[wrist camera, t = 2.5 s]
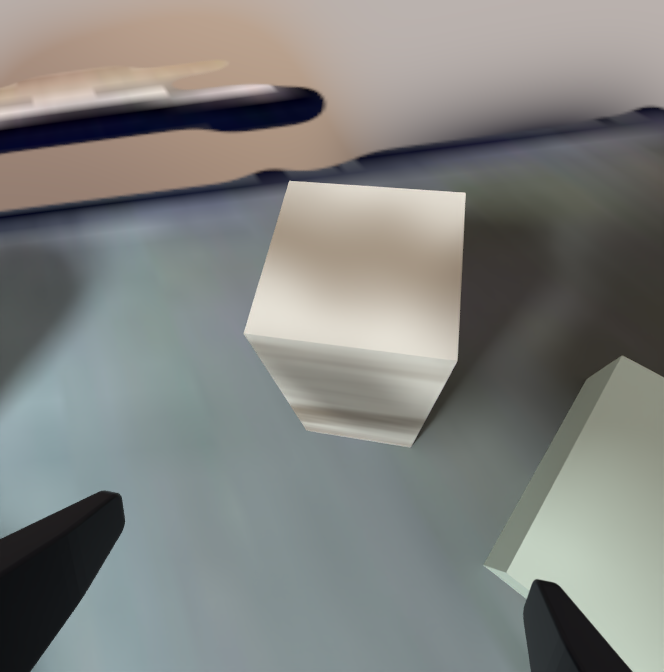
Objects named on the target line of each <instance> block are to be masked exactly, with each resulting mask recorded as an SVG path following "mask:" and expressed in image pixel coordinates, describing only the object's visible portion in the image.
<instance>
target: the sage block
mask: <svg viewBox="0 0 664 672" xmlns="http://www.w3.org/2000/svg"><path fill="white" fill-rule="evenodd" d="M484 566H485V567H486V568H488V569H489V570H490V571H492V572H493V573H494V574H495V575H497V576H498V577H499V578H500V579H502V580H503V581H504V582H506V583H507V584H508V585H509V586H511V587H512V588H513V589H514V590H516V591H517V592H518V593H520V594H521V595H522V596H523V597H525V598H526V599H527V597H528V594H529V591H530V588H531V585H532V583H533V581H534V580H535V579H540V580H545V581H550V582H554V583H556V584H558V585H559V586H560V587H561V588H562V589H563V590H564V591H565V592H566V594H567V595H568V596H569V597H570V598H571V600H572V601H573V602H574V603H575V604H576V605H577V607H578V608H579V609H580V610H581V611H582V613H583V614H584V615H585V616H586V617H587V618H588V620H589V621H590V622H591V623H592V624H593V625H594V627H595V628H596V629H597V630H598V631H599V633H600V634H601V635H602V636H603V637H604V638H605V640H606V641H607V642H608V643H609V644H610V646H611V647H612V648H613V649H614V650H615V651H616V653H617V654H618V655H619V656H620V657H621V659H622V660H623V661H624V662H625V663H626V664H627V666H628V667H629V668H630V669H631V670H632V671H633V672H664V377H662V376H660V375H658V374H656V373H655V372H653V371H651V370H649V369H647V368H645V367H643V366H641V365H639V364H638V363H636V362H634V361H632V360H630V359H628V358H626V357H624V356H623V355H622V356H620V357H619V358H617V359H616V360H614V361H613V362H611V363H610V364H608V365H607V366H605V367H604V368H602V369H601V370H599V371H598V372H596V373H595V374H593V375H592V376H590V377H589V378H588V379H586V381H585V383H584V385H583V387H582V388H581V390H580V392H579V394H578V396H577V397H576V399H575V401H574V403H573V405H572V406H571V408H570V410H569V412H568V414H567V415H566V417H565V419H564V421H563V423H562V424H561V426H560V428H559V430H558V432H557V433H556V435H555V437H554V439H553V441H552V442H551V444H550V446H549V448H548V450H547V451H546V453H545V455H544V457H543V459H542V460H541V462H540V464H539V466H538V468H537V469H536V471H535V473H534V475H533V477H532V478H531V480H530V482H529V484H528V486H527V487H526V489H525V491H524V493H523V495H522V496H521V498H520V500H519V502H518V504H517V505H516V507H515V509H514V511H513V513H512V514H511V516H510V518H509V520H508V522H507V523H506V525H505V527H504V529H503V531H502V532H501V534H500V536H499V538H498V540H497V541H496V543H495V545H494V547H493V549H492V550H491V552H490V554H489V556H488V558H487V559H486V561H485V563H484Z"/></svg>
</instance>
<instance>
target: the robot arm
mask: <svg viewBox="0 0 664 672" xmlns="http://www.w3.org/2000/svg"><path fill="white" fill-rule="evenodd" d="M124 525H125V516H124V509H123V502H122V497H121V495H120V494H119V493H115V492H110V491H100V492H98V493H95V494H93V495H91V496H89V497H87V498H85V499H83V500H81V501H79V502H77V503H75V504H73V505H70V506H68V507H66V508H64V509H62V510H60V511H58V512H56V513H54V514H52V515H50V516H48V517H45V518H43V519H41V520H39V521H37V522H35V523H33V524H31V525H29V526H27V527H25V528H23V529H21V530H18V531H16V532H14V533H12V534H10V535H8V536H6V537H4V538H2V539H0V672H30V671H31V670H32V669H33V667H34V666H35V664H36V663H37V662H38V660H39V659H40V657H41V656H42V655H43V653H44V652H45V650H46V649H47V648H48V646H49V645H50V643H51V642H52V641H53V639H54V638H55V636H56V635H57V634H58V632H59V631H60V629H61V628H62V627H63V625H64V624H65V622H66V621H67V619H68V618H69V617H70V615H71V614H72V612H73V611H74V610H75V608H76V607H77V605H78V604H79V602H80V601H81V599H82V598H83V596H84V595H85V593H86V591H87V590H88V588H89V587H90V585H91V583H92V582H93V580H94V578H95V577H96V575H97V573H98V571H99V570H100V568H101V566H102V565H103V563H104V561H105V560H106V558H107V556H108V555H109V553H110V551H111V550H112V548H113V546H114V545H115V543H116V541H117V540H118V538H119V536H120V534H121V533H122V531H123V528H124ZM523 619H524V627H525V633H526V640H527V647H528V654H529V661H530V668H531V672H633V671H632V670H631V669H630V668H629V667H628V666H627V664H626V663H625V662H624V661H623V660H622V659H621V657H620V656H619V655H618V654H617V653H616V651H615V650H614V649H613V648H612V647H611V646H610V644H609V643H608V642H607V641H606V640H605V638H604V637H603V636H602V635H601V634H600V633H599V631H598V630H597V629H596V628H595V627H594V625H593V624H592V623H591V622H590V621H589V620H588V618H587V617H586V616H585V615H584V614H583V613H582V611H581V610H580V609H579V608H578V607H577V605H576V604H575V603H574V602H573V601H572V600H571V598H570V597H569V596H568V595H567V594H566V592H565V591H564V590H563V589H562V588H561V587H560V586H559V585H558V584H556V583H554V582H550V581H545V580H540V579H535V580H534V581H533V583H532V585H531V588H530V591H529V594H528V597H527V600H526V603H525V606H524V611H523Z"/></svg>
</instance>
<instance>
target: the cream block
mask: <svg viewBox="0 0 664 672" xmlns="http://www.w3.org/2000/svg"><path fill="white" fill-rule="evenodd" d="M465 196H466V193H461V192H446V191H431V190H416V189H401V188H386V187H371V186H356V185H341V184H327V183H312V182H297V181H289V184H288V187H287V190H286V194H285V197H284V200H283V204H282V207H281V210H280V214H279V217H278V221H277V224H276V227H275V231H274V234H273V237H272V241H271V244H270V247H269V251H268V254H267V257H266V261H265V264H264V267H263V271H262V274H261V277H260V281H259V284H258V287H257V291H256V294H255V297H254V301H253V304H252V307H251V311H250V314H249V317H248V321H247V324H246V328H245V331H244V335H245V336H246V338H247V339H248V341H249V342H250V344H251V345H252V347H253V348H254V350H255V352H256V353H257V355H258V356H259V358H260V359H261V361H262V362H263V364H264V365H265V367H266V368H267V370H268V372H269V373H270V375H271V376H272V378H273V379H274V381H275V382H276V384H277V385H278V387H279V389H280V390H281V392H282V393H283V395H284V396H285V398H286V399H287V401H288V402H289V404H290V405H291V407H292V409H293V410H294V412H295V413H296V415H297V416H298V418H299V419H300V421H301V422H302V424H303V426H304V427H305V429H306V430H307V431H313V432H319V433H325V434H331V435H337V436H343V437H349V438H355V439H361V440H368V441H374V442H380V443H386V444H392V445H398V446H404V447H410V448H411V446H412V444H413V442H414V441H415V439H416V437H417V435H418V433H419V431H420V429H421V428H422V426H423V424H424V422H425V420H426V418H427V416H428V415H429V413H430V411H431V409H432V407H433V405H434V404H435V402H436V400H437V398H438V396H439V394H440V392H441V391H442V389H443V387H444V385H445V383H446V381H447V379H448V378H449V376H450V374H451V372H452V370H453V368H454V367H455V365H456V363H457V361H458V340H459V320H460V299H461V278H462V258H463V237H464V216H465Z"/></svg>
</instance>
